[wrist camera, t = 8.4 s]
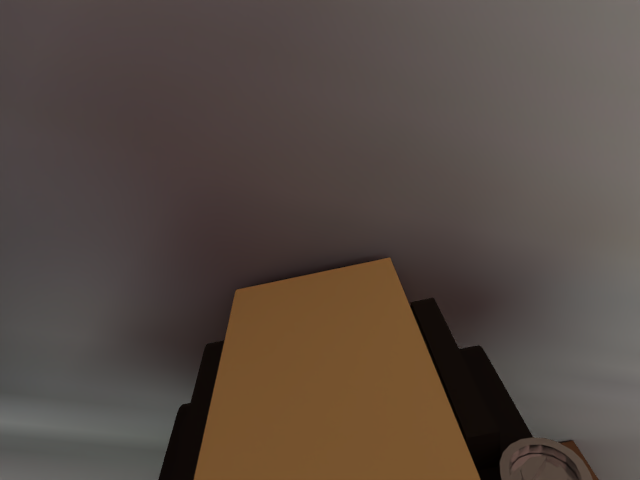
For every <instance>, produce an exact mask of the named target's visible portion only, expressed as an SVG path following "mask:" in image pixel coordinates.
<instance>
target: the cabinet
mask: <svg viewBox="0 0 640 480" xmlns="http://www.w3.org/2000/svg"><path fill="white" fill-rule="evenodd" d="M561 444H563V445H564V446H566V447H568V448H569V449H571V450H573V451H574V452H575V453H576V454H577V455H578V456H579V457H580V458H581V459H582V460H583V462H584V463H585V465H586V467H587V468H588V470H589V471H590V474H591V476H592V479H593V480H599V479H598V478H597V476H596V475H595V473H594V472H593V470H592V469H591V467H590V466H589V464H588V463H587V461H586V460H585V458H584V457H583V455H582V453H581V452H580V450H579V449H578V447H577V446H576V444H575V443H574V441H569V442H563V443H561Z"/></svg>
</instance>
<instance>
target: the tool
mask: <svg viewBox="0 0 640 480" xmlns="http://www.w3.org/2000/svg"><path fill="white" fill-rule="evenodd" d="M194 480H481V479H480V477H479V474H478V472H477V469H476V467H475V465H474V462H473V460H472V457H471V455H470V452H469V450H468V447H467V445H466V442H465V440H464V438H463V435H462V433H461V430H460V428H459V425H458V423H457V420H456V418H455V416H454V413H453V411H452V408H451V406H450V403H449V401H448V398H447V396H446V393H445V391H444V389H443V386H442V384H441V381H440V379H439V376H438V374H437V371H436V369H435V366H434V364H433V362H432V359H431V357H430V354H429V352H428V349H427V347H426V344H425V342H424V339H423V337H422V335H421V332H420V330H419V327H418V325H417V322H416V320H415V317H414V315H413V312H412V310H411V308H410V305H409V303H408V300H407V298H406V295H405V293H404V290H403V288H402V285H401V283H400V281H399V278H398V276H397V273H396V271H395V268H394V266H393V263H392V261H391V259H390V258H385V259H381V260H376V261H371V262H366V263H361V264H357V265H352V266H347V267H342V268H338V269H333V270H328V271H323V272H318V273H314V274H309V275H304V276H299V277H295V278H290V279H285V280H280V281H276V282H271V283H266V284H261V285H256V286H252V287H247V288H242V289H237V290H236V291H235V296H234V300H233V305H232V309H231V314H230V318H229V323H228V327H227V332H226V336H225V341H224V345H223V350H222V354H221V359H220V363H219V368H218V372H217V377H216V381H215V386H214V390H213V395H212V399H211V404H210V408H209V413H208V417H207V422H206V427H205V431H204V436H203V440H202V445H201V449H200V454H199V458H198V463H197V467H196V472H195V476H194Z"/></svg>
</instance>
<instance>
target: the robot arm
mask: <svg viewBox="0 0 640 480" xmlns="http://www.w3.org/2000/svg"><path fill="white" fill-rule="evenodd" d="M411 310H412V312H413V315H414V317H415V320H416V322H417V325H418V327H419V330H420V332H421V335H422V337H423V339H424V342H425V344H426V347H427V349H428V352H429V354H430V357H431V359H432V362H433V364H434V366H435V369H436V371H437V374H438V376H439V379H440V381H441V384H442V386H443V389H444V391H445V393H446V396H447V398H448V401H449V403H450V406H451V408H452V411H453V413H454V416H455V418H456V420H457V423H458V425H459V428H460V430H461V433H462V435H463V438H464V440H465V442H466V445H467V447H468V450H469V452H470V455H471V457H472V460H473V462H474V465H475V467H476V469H477V472H478V474H479V477H480V479H481V480H593V479H592V476H591V474H590V471H589V470H588V468H587V467H586V465H585V463H584V462H583V460H582V459H581V458H580V457H579V456H578V455H577V454H576V453H575V452H574V451H573V450H571V449H569V448H568V447H566V446H564V445H563V444H561V443H559V442H555V441H552V440H549V439H546V438H535V437H533V436H532V435H531V433H530V431H529V429H528V428H527V426H526V424H525V422H524V420H523V419H522V417H521V415H520V413H519V412H518V410H517V408H516V406H515V404H514V403H513V401H512V399H511V397H510V396H509V394H508V392H507V390H506V389H505V387H504V385H503V383H502V381H501V380H500V378H499V376H498V374H497V373H496V371H495V369H494V367H493V365H492V364H491V362H490V360H489V358H488V357H487V355H486V353H485V351H484V350H483V348H482V347H481V346H479V345H478V346H473V347H468V348H463V349H459V348H458V346H457V344H456V342H455V340H454V338H453V336H452V334H451V332H450V330H449V328H448V326H447V324H446V322H445V320H444V318H443V316H442V314H441V312H440V310H439V308H438V306H437V304H436V302H435V300H434V298H430V299H425V300H420V301H415V302H411ZM223 345H224V341H220V342H215V343H210V344H207V345H206V346H205V349H204V353H203V357H202V361H201V365H200V368H199V372H198V376H197V380H196V384H195V388H194V392H193V396H192V400H191V403H188V404H183V405H182V406H181V407H180V408H179V410H178V413H177V416H176V420H175V423H174V427H173V430H172V434H171V437H170V441H169V444H168V448H167V451H166V455H165V458H164V462H163V465H162V469H161V472H160V476H159V480H194V476H195V472H196V467H197V463H198V458H199V454H200V449H201V445H202V440H203V436H204V431H205V427H206V422H207V417H208V413H209V408H210V404H211V399H212V395H213V390H214V386H215V381H216V377H217V372H218V368H219V363H220V359H221V354H222V350H223Z"/></svg>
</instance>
